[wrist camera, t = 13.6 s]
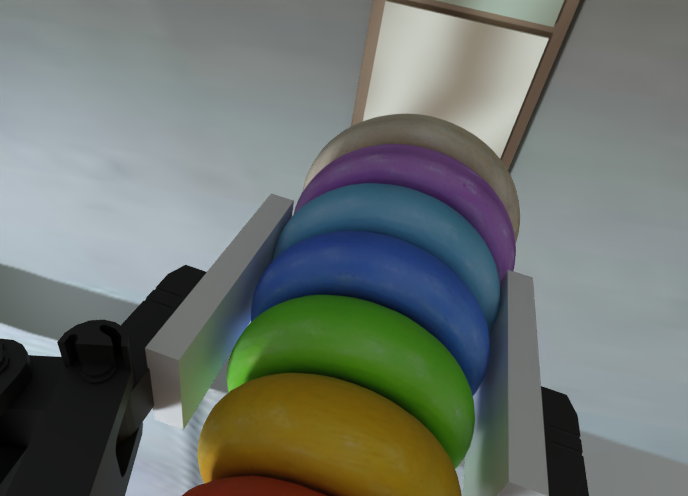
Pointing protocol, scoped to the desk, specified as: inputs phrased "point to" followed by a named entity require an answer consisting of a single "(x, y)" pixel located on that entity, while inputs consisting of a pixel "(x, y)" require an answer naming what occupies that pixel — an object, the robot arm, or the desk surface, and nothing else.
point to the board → (462, 63)
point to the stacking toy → (370, 321)
